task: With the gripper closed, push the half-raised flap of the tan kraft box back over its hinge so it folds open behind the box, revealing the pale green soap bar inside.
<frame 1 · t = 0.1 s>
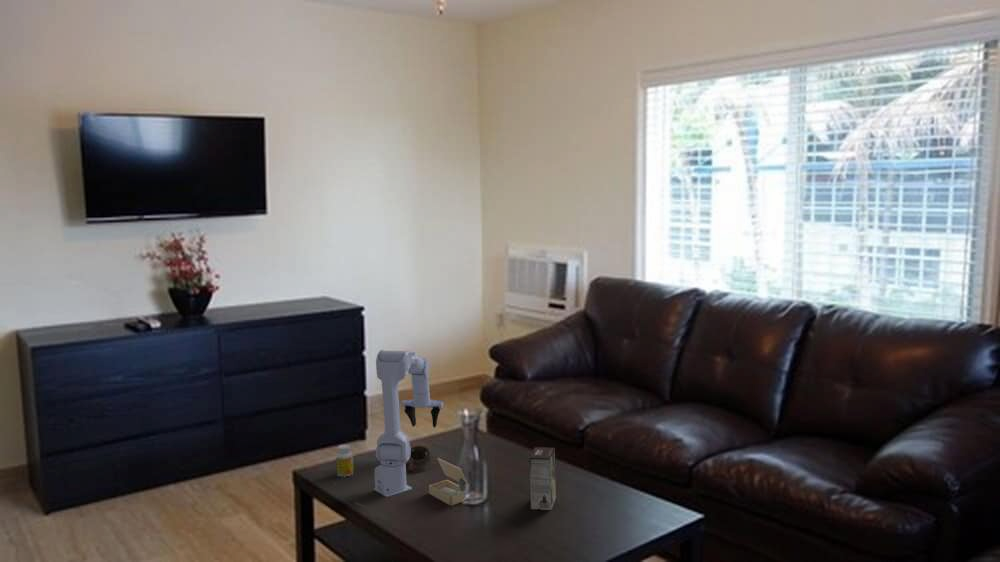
hand: (424, 425, 278), 11 cm above the table, tool pointing down, fingers open, 7 cm apart
coffee box: (543, 504, 236), on the table
mailer box: (449, 497, 242), on the table
pottery mug: (416, 466, 269), on the table
supplement bottle: (345, 475, 263), on the table
soap: (447, 496, 242), resting on mailer box
lid: (453, 471, 242), point 8 cm above the table, hinge at 65.0°
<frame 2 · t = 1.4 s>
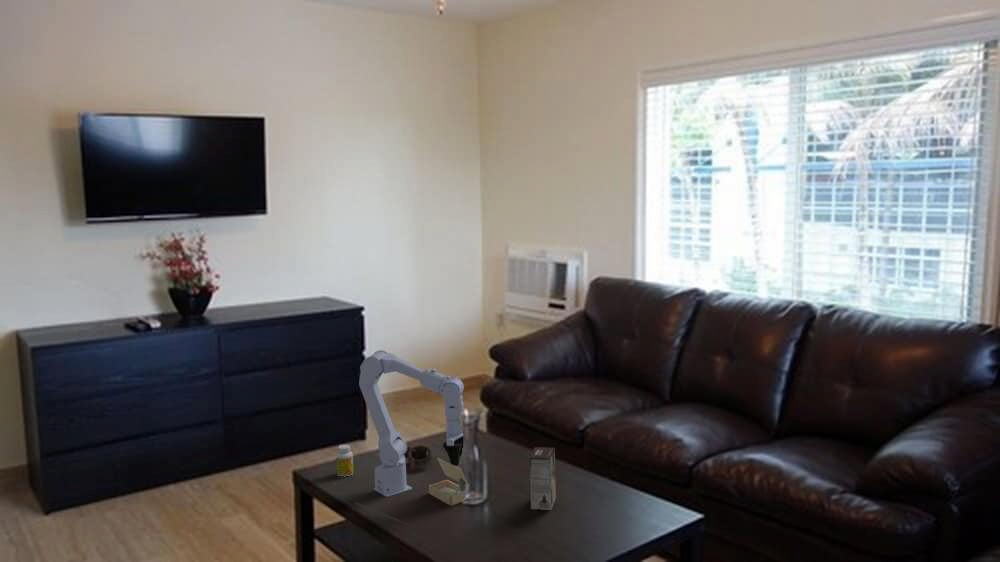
hand: (458, 460, 244), 10 cm above the table, tool pointing down, fingers open, 7 cm apart
lid: (453, 471, 242), point 8 cm above the table, hinge at 65.0°, touching gripper
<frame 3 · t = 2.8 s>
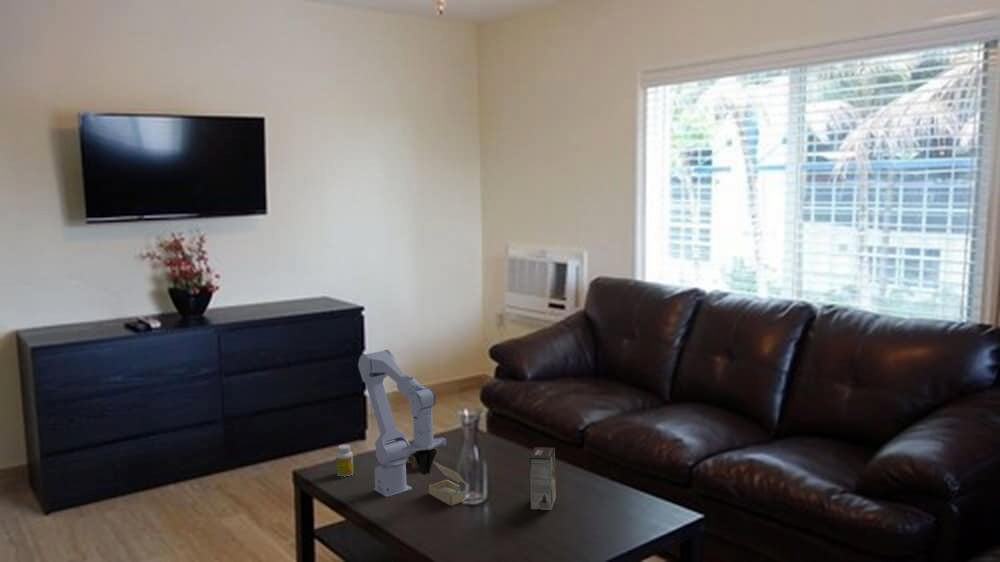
hand: (425, 473, 236), 10 cm above the table, tool pointing down, fingers closed
lid: (450, 474, 242), point 7 cm above the table, hinge at 51.8°
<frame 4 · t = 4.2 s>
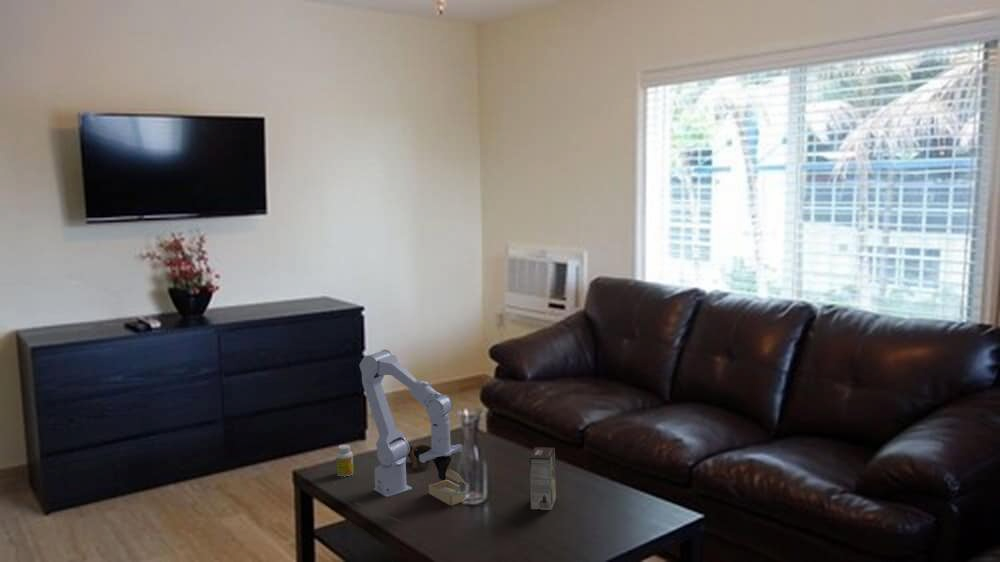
hand: (442, 479, 240), 6 cm above the table, tool pointing down, fingers closed, pressing on lid
lid: (451, 474, 242), point 7 cm above the table, hinge at 52.1°, touching gripper
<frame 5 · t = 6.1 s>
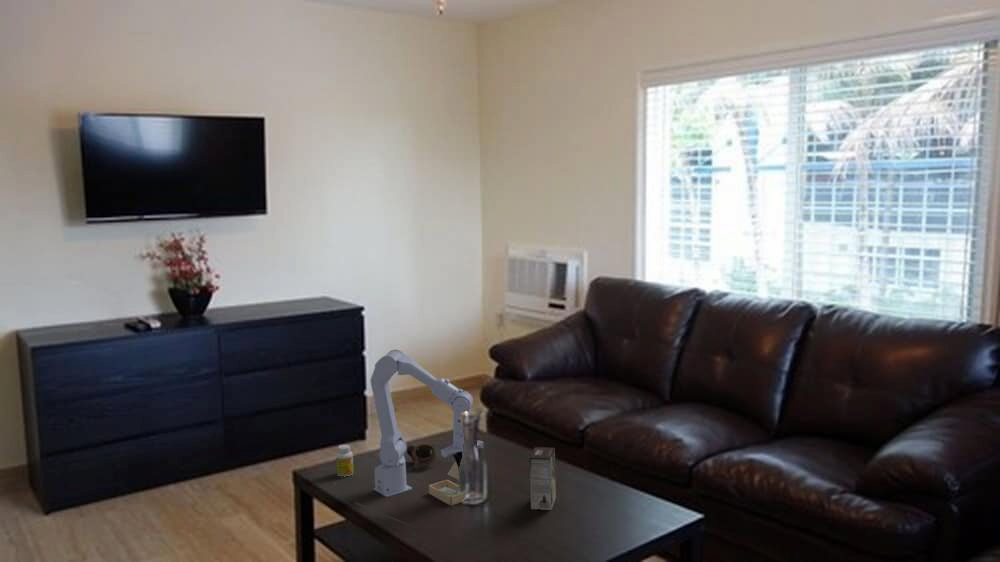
hand: (462, 474, 244), 6 cm above the table, tool pointing down, fingers closed, pressing on lid
lid: (465, 470, 245), point 7 cm above the table, hinge at 132.7°, touching gripper
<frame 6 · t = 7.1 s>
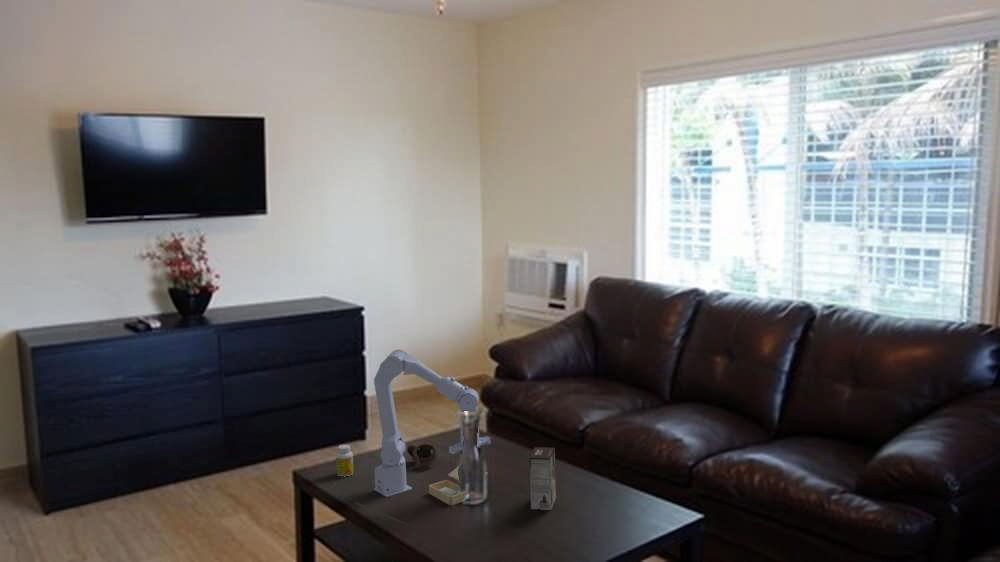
hand: (470, 470, 246), 6 cm above the table, tool pointing down, fingers closed
lid: (467, 474, 246), point 6 cm above the table, hinge at 157.6°, touching gripper
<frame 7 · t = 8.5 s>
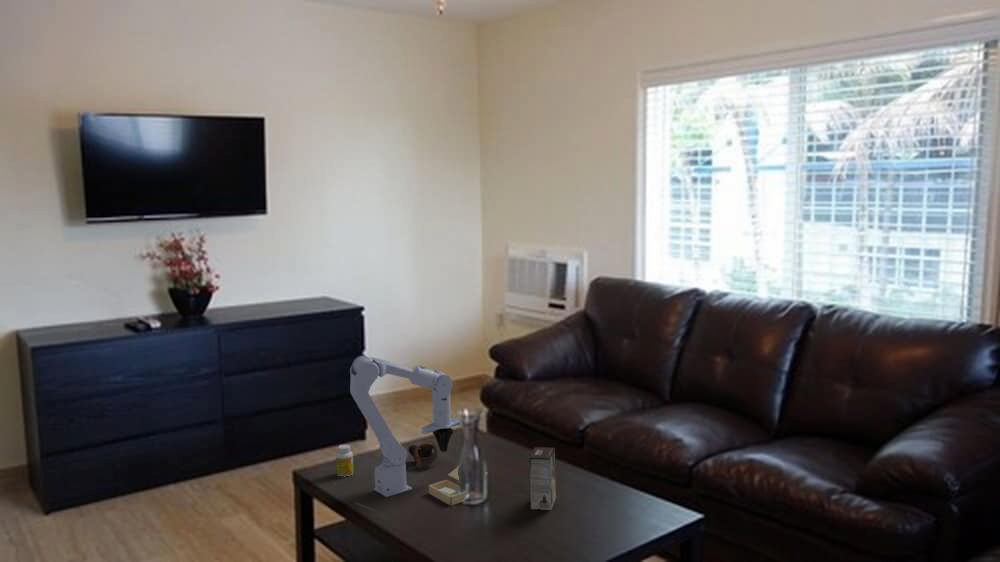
hand: (443, 450, 254), 10 cm above the table, tool pointing down, fingers closed
lid: (467, 474, 246), point 6 cm above the table, hinge at 157.6°
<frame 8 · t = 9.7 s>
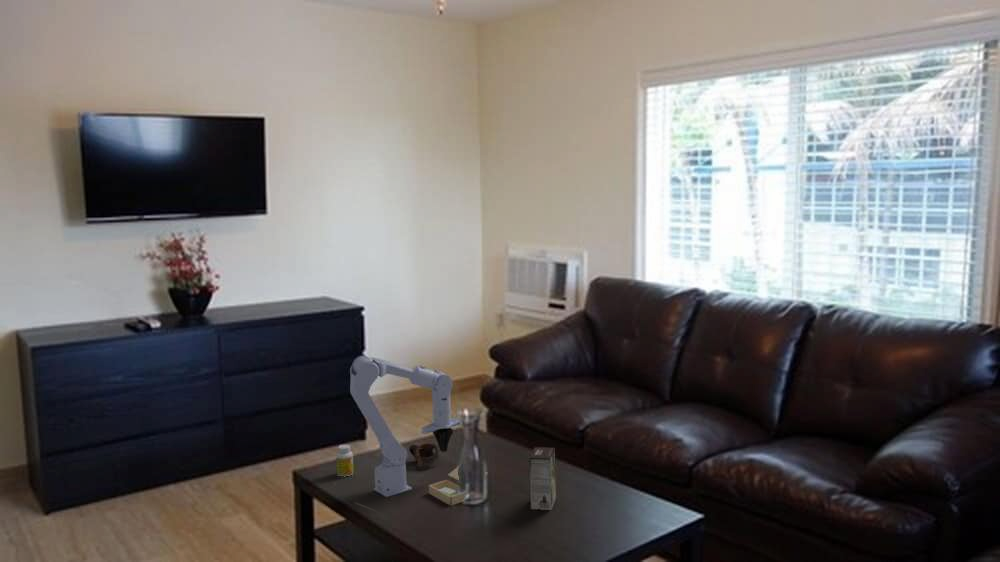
hand: (443, 450, 254), 10 cm above the table, tool pointing down, fingers closed
at the end: lid at +158° (first picture: +65°); soap moved 0.0 cm from its start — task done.
